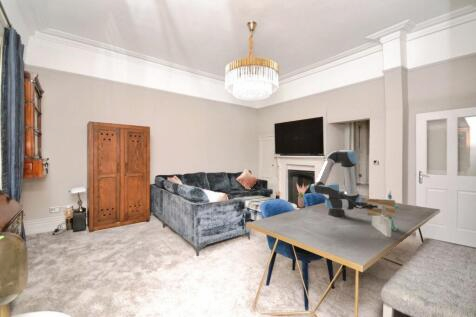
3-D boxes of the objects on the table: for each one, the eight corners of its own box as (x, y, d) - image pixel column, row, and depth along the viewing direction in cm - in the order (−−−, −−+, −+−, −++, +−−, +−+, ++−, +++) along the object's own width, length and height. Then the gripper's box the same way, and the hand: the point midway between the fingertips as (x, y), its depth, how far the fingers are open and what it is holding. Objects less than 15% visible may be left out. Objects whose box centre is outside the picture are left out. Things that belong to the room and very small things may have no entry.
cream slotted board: (371, 224, 178) (372, 210, 178) (374, 225, 177) (375, 210, 177) (387, 236, 152) (387, 220, 152) (390, 237, 152) (391, 220, 152)
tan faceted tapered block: (366, 214, 164) (367, 198, 164) (392, 215, 161) (393, 199, 160) (367, 215, 162) (368, 199, 161) (394, 216, 158) (395, 200, 158)
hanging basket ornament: (380, 225, 177) (381, 189, 177) (396, 227, 173) (397, 190, 172) (382, 229, 168) (383, 191, 167) (399, 231, 163) (400, 192, 162)
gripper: (343, 206, 173) (376, 208, 169) (350, 211, 158) (385, 214, 153) (344, 197, 173) (376, 199, 168) (350, 201, 158) (385, 203, 153)
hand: (380, 206), depth 161 cm, fingers closed on tan faceted tapered block, 2 cm apart
